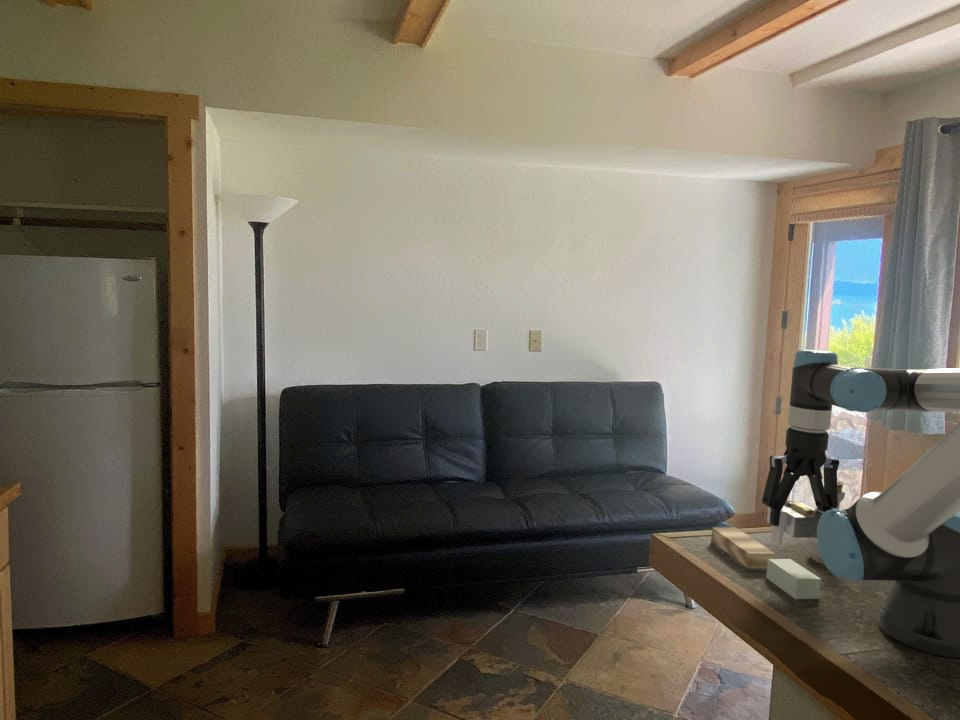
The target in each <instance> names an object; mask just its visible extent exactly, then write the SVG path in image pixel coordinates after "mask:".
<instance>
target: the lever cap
mask: <svg viewBox="0 0 960 720" xmlns="http://www.w3.org/2000/svg"><path fill="white" fill-rule="evenodd" d="M813 508H814V507H812V506H809V505H808V504H806V503H804V502H797V501H793V500H786V502H785V504H784V506H783V508H782V510H784V511H785V512H786V514H785V523H784V533H785V535H786V534H787V535H788V536H790V537H791V538H796V539H800V538H801V539H802V538H817V526H818V522H819V519H820V517H821V515H822V514H823V513H821V512H819V511H817V510H815V509H813ZM770 513H771V508H770V507H768V506H767V516H766V517H767V518H766V522H767V523H769V524H770Z"/></svg>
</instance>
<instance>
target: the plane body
mask: <svg viewBox="0 0 960 720" xmlns="http://www.w3.org/2000/svg"><path fill="white" fill-rule="evenodd" d="M710 537H711V539H710V545H711V546H713V547H714V548H715V549H716V548H717V549H716V550H718V551H719V550H720V551H721V552H720V551H719V552H720V553H722V552H723V553H724V554H725V555H724V554H723V553H722V554H723V555H724V556H726V555H727V556H728V557H729V559H730V558H731V559H732V560H733V561H732V560H731V559H730V560H731V561H732V562H734V561H735V562H736V563H737V564H739V565H740V566H741V567H742V568H741V569H743V568H744V569H745V570H746V571H745V570H744V569H743V570H744V571H745V572H747V571H748V572H747V573H767V565H768V559H776V553H775V552H774V551H772V550H770V549H769V548H767V547H766V546H764V545H763V544H762V543H761V542H759V541H757V540H756V539H754V538H752V537H751V536H750V535H748V534H747V533H745V532H743V531H742V530H740V529H739V528H737V527H712V529H711V535H710ZM727 556H726V557H727ZM728 557H727V558H728ZM735 562H734V563H735ZM736 563H735V564H736ZM737 564H736V565H737ZM739 565H738V566H739ZM740 566H739V567H740ZM749 571H750V572H749Z"/></svg>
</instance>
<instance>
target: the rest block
mask: <svg viewBox="0 0 960 720" xmlns="http://www.w3.org/2000/svg"><path fill="white" fill-rule="evenodd" d="M765 578H766V579H767V580H769V581H770V582H771V583H773V584H774V585H775V586H777V587H778V588H779V589H781V590H783V592H785V593H786V594H787V595H789V596H790V597H792V598H793V599H794V600H817V599H818V600H819V599H820V594H821V593H820V592H821V582H822V579H821V578H820V577H818V576H817V575H816V574H815V573H812V572H811V571H809V570H808V569H807V568H805V567H804V566H802V565H800V564H799V563H797V562H796V561H794V560H793V559H792V558H775V559H768V565H767V572H766V576H765Z"/></svg>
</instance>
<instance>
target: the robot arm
mask: <svg viewBox="0 0 960 720" xmlns="http://www.w3.org/2000/svg"><path fill="white" fill-rule="evenodd" d="M794 357H795V358H794V361H793V363H794V364H793V366H792V369H791V370H792V374H791V382H790V383H791V385H790V396H789V397H790V398H789V408H788V416H787V424H788V427H787V428H786V432H785V433H786V434H785V451H784V453H783V454H782V455H779V456H776V455H770V456H769V471H768V473H767V474H768V475H767V479H766V483H765V486H764V491H763V495H762V500H761V503H762V504H763V505H765V506H767V508H768V507H770V508H771V513H770V523H769V524H770V525H772V526H771V537H770V539H771V540H772V541H774V542H775V543H777V544H778V545H779V544H780V545H781V544H783V541H784V533H785V532H784V523H785V514H786V512H785V511H784V510H782V508H783V506H784V504H785V502H786V501H788V498H789V496H790V494H791V492H792V490H793V488H794V486H795V484H796V482H798V481H799V480H800V477H804V476H807V479H808V480H809V484H810V489H811V492H812V494H813V495H812V496H813V499H814V503H815V507H812V508H813V509H815V510H817V511H819V512H821V513H823V514H822V515H821V517H820V519H819V522H818V526H817V538H808V539H809V540H812V541H813V542H815V543H817V544H818V547H819V551H820V554H821V557H822V559H823V561H824V563H825V565H824V566H825V567H826V568H827V569H828V571H829V572H830V573H831V574H832V575H833V576H835V578H837V579H839V580H842V581H850V582H851V581H852V582H855V583H856V582H857V583H860V582H872V581H873V582H877V581H879V582H880V581H881V582H884V581H887V582H888V581H890V582H891V581H894V584H893V587H892V588H891V591H890V593H889V594H888V597H887V599H886V602H885V604H883V605H882V606H881V608H880V609H879V616H878V626H879V628H880V629H881V630H882V631H883V632H884V633H885V634H886V635H887V636H889V637H890V638H892V639H894V640H896V641H897V642H900V643H901V644H903V645H906V646H907V647H911V648H913V649H915V650H919V651H922V652H925V653H928V654H931V655H932V654H933V655H937V656H940V657H946V658H947V657H948V658H954V659H955V658H957V659H959V658H960V422H959V423H957V424H955V426H954V427H953V428H952V429H951V430H950V431H949V432H948V433H946V434H945V435H944V436H943V437H942V438H941V439H940V440H939V441H938V442H936V443H934V445H933V446H932V447H931V448H930V449H929V450H928V451H926V452H925V453H924V454H923V455H922V456H921V457H919V459H917V461H915V462H914V463H913V464H911V466H910V467H908V468H907V469H906V470H905V471H904V472H903V473H902V474H901V475H900V476H898V477H897V479H895V480H894V481H893V482H892V483H891V484H889V485H888V486H887V488H885V490H884V491H871V492H868V493H866V494H864V495H862V496H861V497H860V498H858V500H857V501H855V502H854V503H853V504H852V505H851V506H850V507H849V508H845V509H840V508H839V509H838V508H836V507H837V506H838V498H837V482H838V469H839V466H840V462H841V461H840V460H839V459H837V458H834V457H831V456H827V455H826V451H827V450H828V445H829V437H830V434H829V433H828V430H830V429H831V421H832V410H833V406H835V407H838V408H841V409H843V410H844V409H845V410H846V411H849V412H859V413H871V412H872V411H874V410H879V411H880V410H881V411H883V410H884V411H886V410H887V411H889V410H890V411H891V410H894V411H908V412H910V411H911V412H924V413H928V412H929V413H930V412H936V413H957V414H958V413H959V414H960V367H956V368H950V367H949V368H919V369H918V368H917V369H916V368H914V369H905V368H904V369H903V368H902V369H901V368H898V369H897V368H881V367H880V368H879V367H864V366H862V367H861V366H860V367H859V366H858V367H857V366H847V365H843V364H842V365H841V364H838V355H837V353H836V352H833V351H829V350H820V349H804V348H803V349H800V350H797V351H796V352H795V355H794ZM785 464H786V465H785ZM822 467H823V474H822V471H821V468H822ZM784 468H785V469H784ZM783 469H784V471H783ZM831 508H835V509H831Z"/></svg>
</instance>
